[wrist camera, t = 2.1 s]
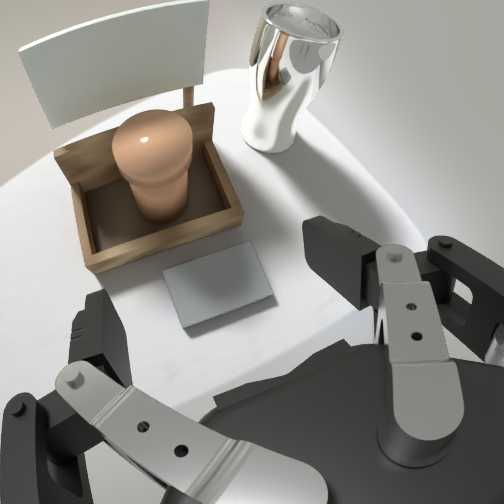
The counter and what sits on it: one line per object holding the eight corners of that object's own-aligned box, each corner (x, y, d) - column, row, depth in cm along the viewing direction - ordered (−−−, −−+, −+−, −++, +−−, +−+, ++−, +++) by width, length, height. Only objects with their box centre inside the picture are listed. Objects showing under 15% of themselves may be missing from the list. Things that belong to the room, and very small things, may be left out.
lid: (52, 128, 22) (18, 52, 14) (52, 124, 22) (19, 48, 14) (202, 83, 26) (209, 0, 17) (201, 80, 26) (207, -3, 17)
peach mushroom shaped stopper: (141, 236, 27) (119, 183, 18) (127, 184, 28) (107, 122, 20) (201, 216, 28) (203, 158, 20) (182, 167, 30) (180, 102, 21)
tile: (183, 328, 26) (182, 327, 25) (163, 273, 27) (161, 270, 26) (270, 295, 28) (273, 293, 27) (248, 244, 29) (250, 240, 28)
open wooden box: (94, 274, 26) (37, 221, 15) (73, 158, 29) (36, 81, 18) (240, 225, 29) (264, 148, 19) (195, 120, 33) (199, 34, 22)
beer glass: (298, 116, 35) (340, 12, 21) (297, 162, 33) (352, 52, 19) (239, 105, 34) (262, -6, 20) (232, 151, 32) (256, 29, 18)
